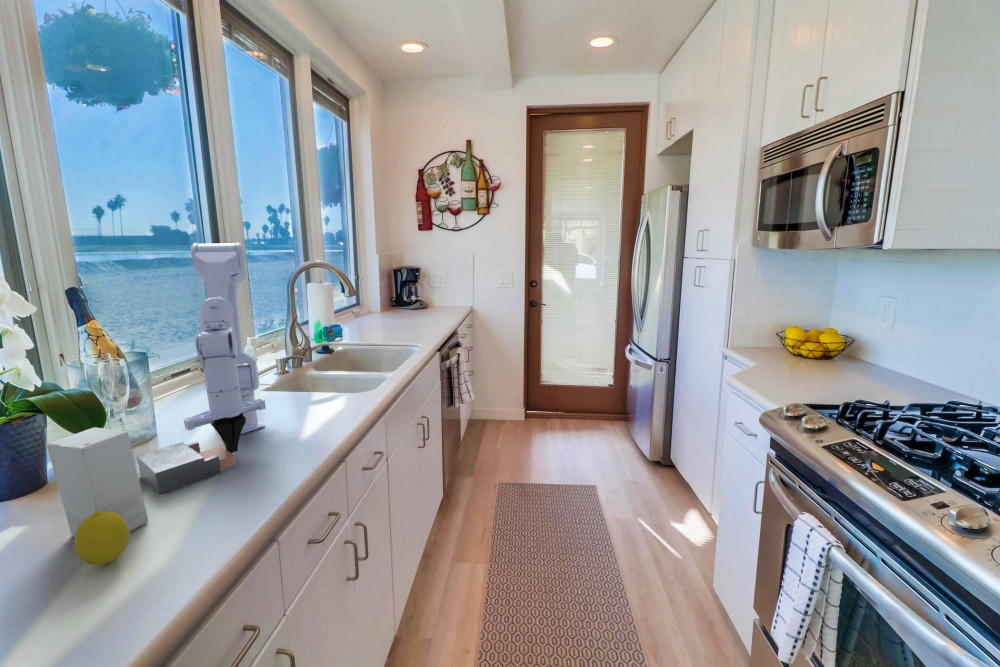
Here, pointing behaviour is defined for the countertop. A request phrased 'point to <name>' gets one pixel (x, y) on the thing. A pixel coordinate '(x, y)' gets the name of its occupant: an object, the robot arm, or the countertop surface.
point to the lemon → (101, 538)
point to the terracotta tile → (220, 456)
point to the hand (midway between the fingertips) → (232, 451)
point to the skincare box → (97, 476)
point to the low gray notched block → (176, 467)
